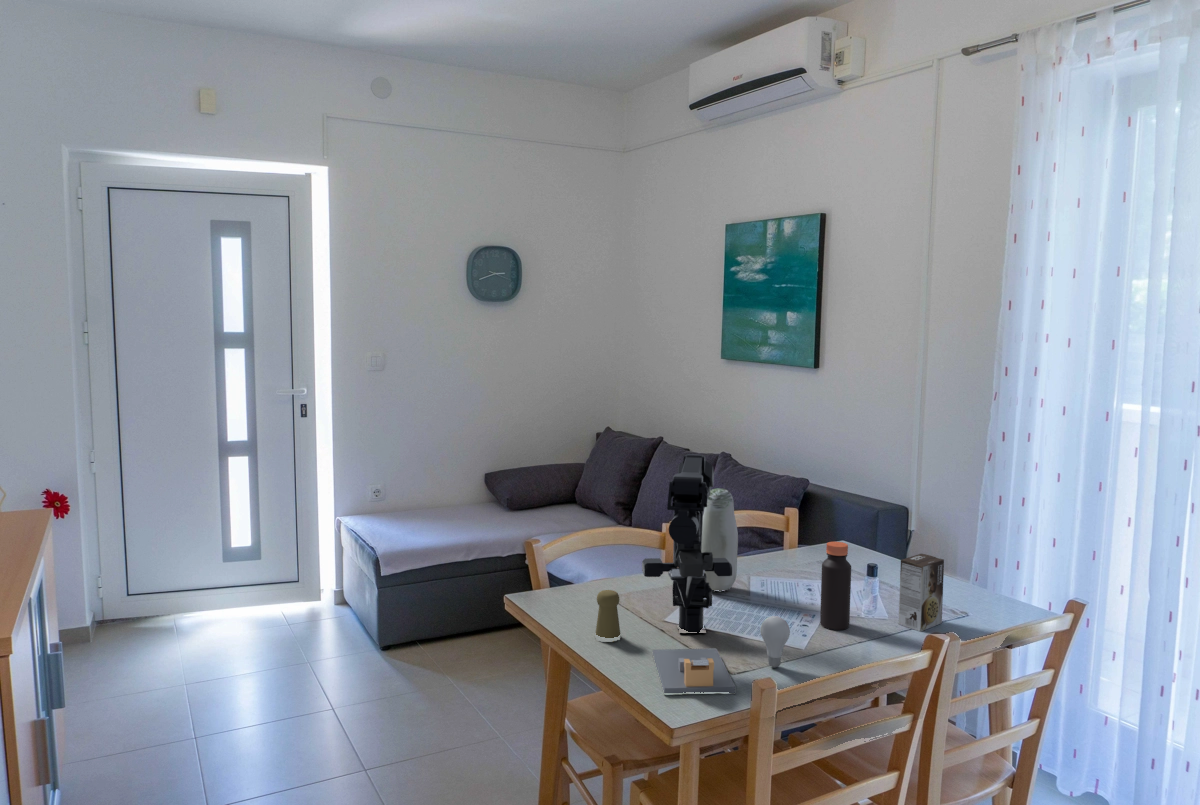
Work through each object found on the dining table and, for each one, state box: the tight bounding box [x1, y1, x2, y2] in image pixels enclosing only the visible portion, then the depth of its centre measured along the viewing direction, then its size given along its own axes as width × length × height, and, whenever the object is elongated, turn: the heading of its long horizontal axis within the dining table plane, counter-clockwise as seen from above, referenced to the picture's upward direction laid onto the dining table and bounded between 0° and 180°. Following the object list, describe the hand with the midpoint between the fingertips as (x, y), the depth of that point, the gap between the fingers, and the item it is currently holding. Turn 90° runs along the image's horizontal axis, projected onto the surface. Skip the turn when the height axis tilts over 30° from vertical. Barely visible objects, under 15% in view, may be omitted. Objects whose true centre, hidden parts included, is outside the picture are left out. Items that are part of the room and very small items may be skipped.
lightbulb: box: [759, 615, 791, 668], centre depth 174 cm, size 6×6×11 cm
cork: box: [595, 589, 621, 638], centre depth 190 cm, size 6×6×11 cm
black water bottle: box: [819, 541, 852, 631], centre depth 198 cm, size 7×7×20 cm
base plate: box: [652, 647, 736, 694], centre depth 171 cm, size 19×14×6 cm
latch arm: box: [690, 660, 709, 666], centre depth 165 cm, size 10×3×1 cm, turn 3°
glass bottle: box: [701, 487, 739, 591], centre depth 223 cm, size 10×10×28 cm
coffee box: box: [898, 553, 945, 632], centre depth 199 cm, size 9×6×16 cm
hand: (686, 607), depth 177 cm, fingers closed
